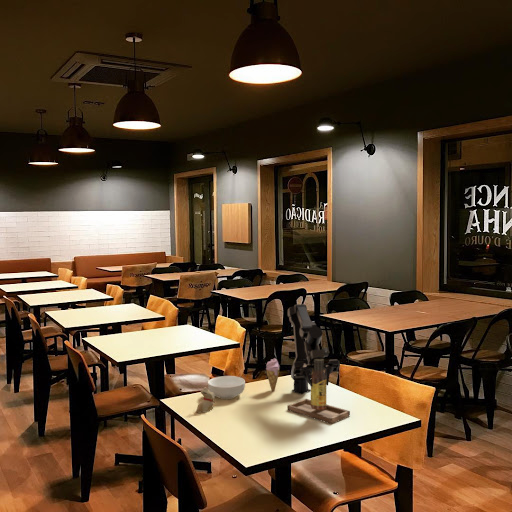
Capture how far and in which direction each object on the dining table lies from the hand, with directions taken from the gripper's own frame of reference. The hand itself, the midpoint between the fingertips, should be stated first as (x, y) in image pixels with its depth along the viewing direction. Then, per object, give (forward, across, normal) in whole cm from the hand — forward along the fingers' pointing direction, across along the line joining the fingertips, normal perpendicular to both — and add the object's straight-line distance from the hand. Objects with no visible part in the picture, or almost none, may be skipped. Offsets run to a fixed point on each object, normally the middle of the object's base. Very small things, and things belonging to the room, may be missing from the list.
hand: (319, 385), depth 224 cm
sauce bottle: (+6, 0, +8) cm, 10 cm away
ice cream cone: (-17, -12, +37) cm, 43 cm away
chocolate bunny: (-3, -45, +22) cm, 50 cm away
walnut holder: (+5, +1, +14) cm, 15 cm away
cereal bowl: (-14, -34, +34) cm, 51 cm away
